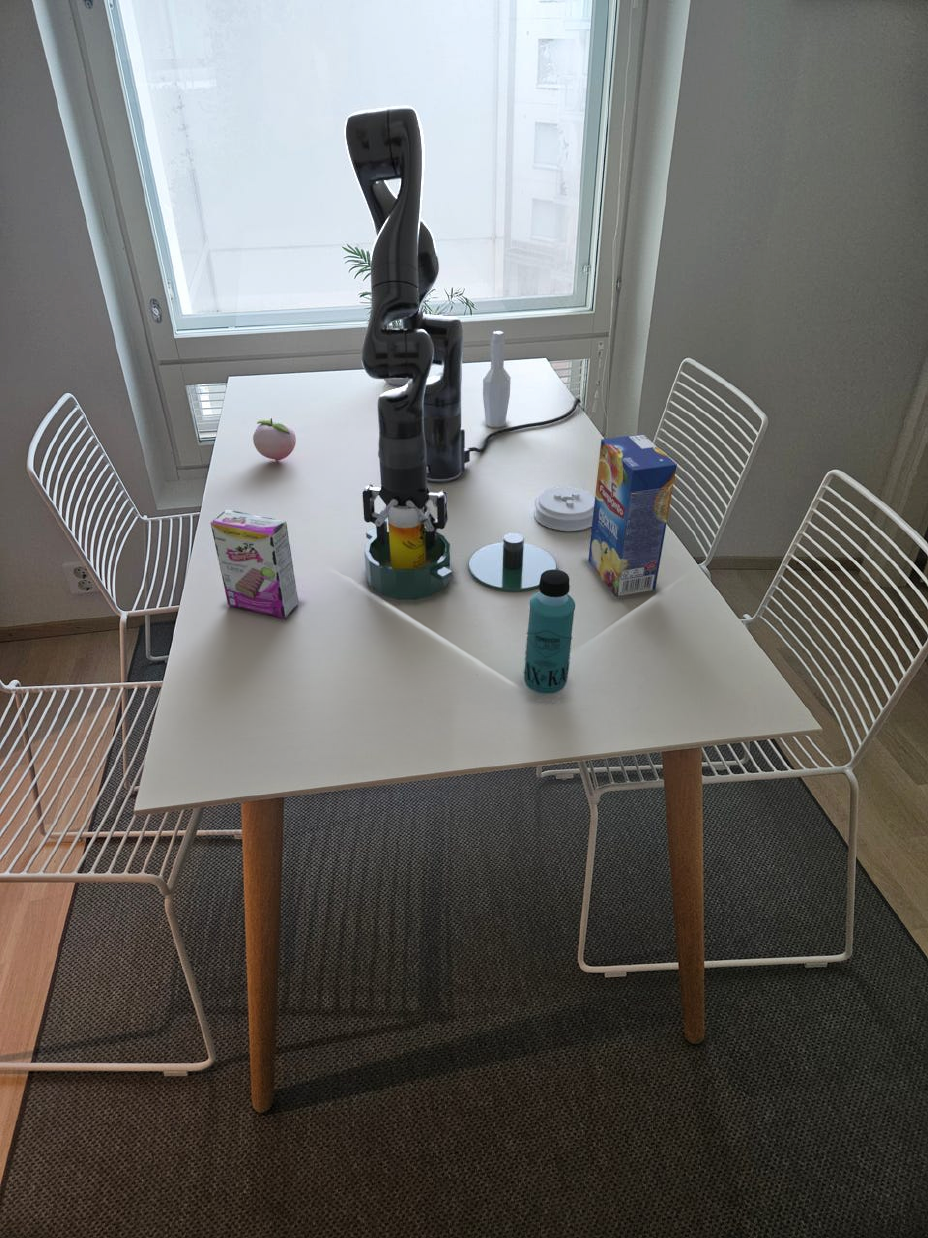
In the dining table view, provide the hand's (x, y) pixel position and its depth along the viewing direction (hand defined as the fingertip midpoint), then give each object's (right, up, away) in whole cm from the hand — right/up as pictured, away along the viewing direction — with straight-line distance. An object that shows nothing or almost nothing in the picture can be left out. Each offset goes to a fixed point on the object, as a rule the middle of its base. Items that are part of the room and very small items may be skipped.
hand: (407, 544), depth 138 cm
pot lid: (+19, -3, +6) cm, 20 cm away
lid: (+30, +7, +21) cm, 37 cm away
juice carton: (+38, -5, +5) cm, 38 cm away
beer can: (0, -5, +4) cm, 7 cm away
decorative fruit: (-32, +22, +42) cm, 57 cm away
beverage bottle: (+22, -23, -19) cm, 37 cm away
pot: (0, -5, +4) cm, 7 cm away
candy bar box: (-24, -11, -2) cm, 26 cm away
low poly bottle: (+18, +35, +59) cm, 70 cm away
